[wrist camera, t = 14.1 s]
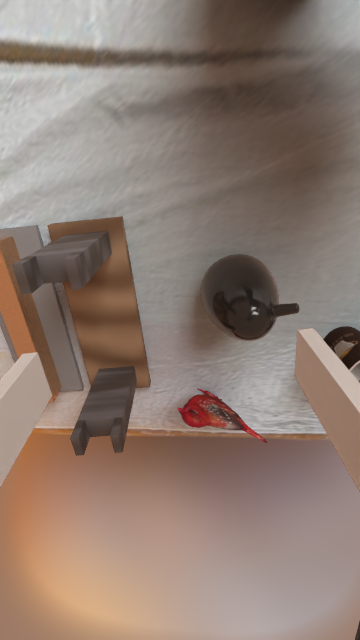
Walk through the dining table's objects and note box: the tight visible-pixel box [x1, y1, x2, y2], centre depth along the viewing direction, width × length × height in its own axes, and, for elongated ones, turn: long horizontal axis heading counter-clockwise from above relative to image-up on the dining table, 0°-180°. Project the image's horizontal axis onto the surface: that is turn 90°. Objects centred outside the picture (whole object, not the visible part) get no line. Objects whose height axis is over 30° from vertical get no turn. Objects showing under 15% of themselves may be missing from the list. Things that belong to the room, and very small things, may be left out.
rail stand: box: [12, 216, 151, 455], centre depth 42 cm, size 28×10×16 cm, turn 6°
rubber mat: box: [0, 225, 84, 392], centre depth 49 cm, size 28×10×1 cm, turn 6°
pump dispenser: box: [201, 254, 299, 341], centre depth 40 cm, size 10×10×15 cm
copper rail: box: [0, 236, 62, 403], centre depth 47 cm, size 26×3×4 cm, turn 6°
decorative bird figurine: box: [178, 388, 267, 443], centre depth 52 cm, size 3×18×10 cm, turn 59°
